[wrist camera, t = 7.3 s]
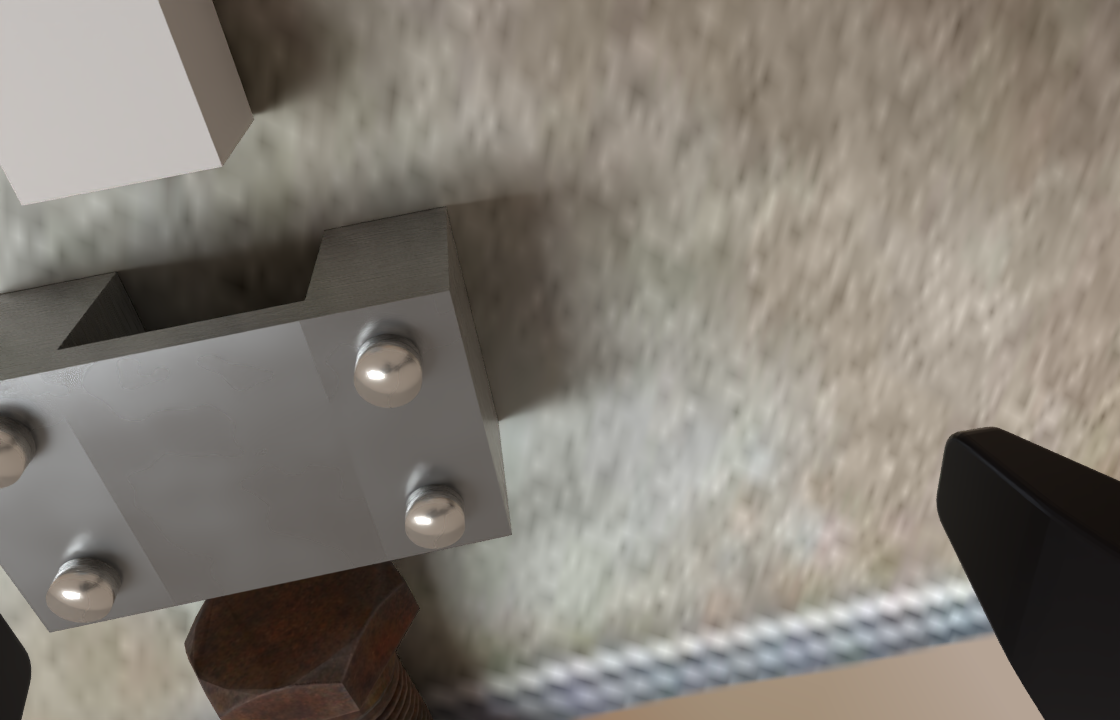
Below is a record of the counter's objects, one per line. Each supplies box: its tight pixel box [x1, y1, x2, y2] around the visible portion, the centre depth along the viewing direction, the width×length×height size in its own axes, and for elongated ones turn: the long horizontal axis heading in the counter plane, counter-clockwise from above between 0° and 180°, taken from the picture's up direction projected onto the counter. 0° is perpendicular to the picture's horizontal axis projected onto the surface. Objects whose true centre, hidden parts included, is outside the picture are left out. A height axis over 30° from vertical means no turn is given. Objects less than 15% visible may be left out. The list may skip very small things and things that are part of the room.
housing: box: [0, 207, 512, 632], centre depth 18 cm, size 10×6×5 cm, turn 99°
